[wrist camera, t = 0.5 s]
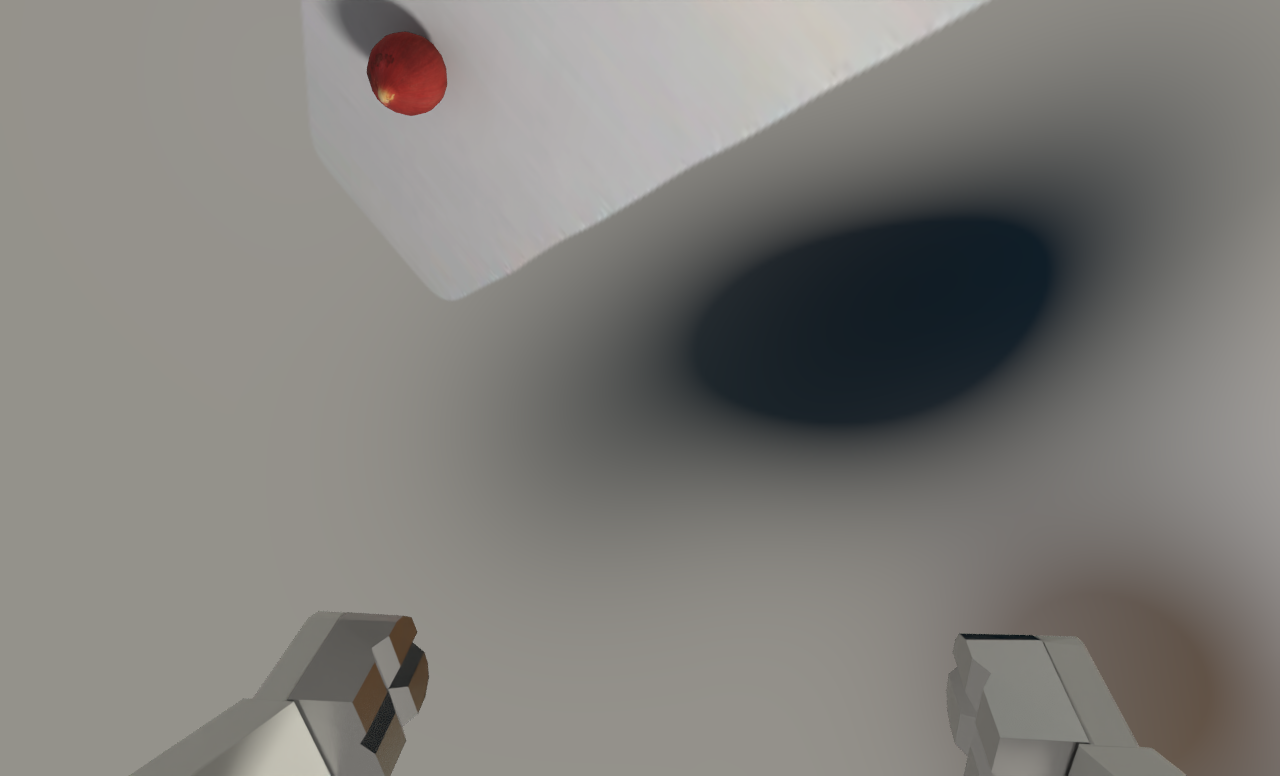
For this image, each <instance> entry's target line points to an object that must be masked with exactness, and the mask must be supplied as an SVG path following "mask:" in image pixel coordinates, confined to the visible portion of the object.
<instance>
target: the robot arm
mask: <svg viewBox="0 0 1280 776" xmlns="http://www.w3.org/2000/svg"><path fill="white" fill-rule="evenodd" d="M416 634H417V630H416V627H415V625H414V622H413V620H412V618H411V617H408V616H398V615H382V614H366V613H349V612H347V613H345V612H325V611H318V612H316V613H315V614H313V615H312V616H311V617H309V618H308V619H307V621H306V622H305V624H304V625H303V626H302V628H301V629H300V631H299V632H298V634H297V635H296V636H295V638H294V639H293V641H292V642H291V644H290V645H289V647H288V648H287V650H286V651H285V652H284V654H283V656H282V657H281V658H280V660H279V661H278V662H277V664H276V665H275V667H274V668H273V670H272V671H271V673H270V674H269V676H268V677H267V678H266V680H265V681H264V683H263V684H262V686H261V687H260V688H259V690H258V691H257V693H256V694H255V696H254V697H253V699H242V700H241V701H239V702H238V703H236V704H235V705H233V706H232V707H230V708H229V709H227V710H226V711H224V712H223V713H221V714H220V715H219V716H217V717H216V718H214V719H213V720H211V721H209V722H208V723H206V724H205V725H203V726H202V727H200V728H199V729H197V730H196V731H195V732H193V733H192V734H190V735H189V736H187V737H186V738H184V739H183V740H181V741H180V742H178V743H177V744H175V745H174V746H172V747H171V748H170V749H168V750H166V751H165V752H163V753H162V754H161V755H159V756H157V757H156V758H155V759H153V760H151V761H150V762H149V763H147V764H146V765H144V766H143V767H141V768H140V769H138V770H137V771H135V772H134V773H132V774H131V775H129V776H390V775H391V773H392V771H393V769H394V766H395V764H396V762H397V760H398V758H399V755H400V753H401V751H402V749H403V747H404V744H405V742H406V738H405V734H404V730H403V726H404V725H405V724H406V723H408V722H409V721H410V720H411V719H412V718H414V717H415V716H416V715H417V714H418V713H419V710H420V708H421V706H422V703H423V701H424V698H425V695H426V690H427V685H428V679H429V672H428V662H427V659H426V656H425V653H424V651H423V650H421V649H420V648H419V647H418V646H416V645H415V644H414V643H413V640H414V638H415V636H416ZM953 654H954V658H955V661H956V664H957V668H955V669H954V670H953V671H952V672H950V673H949V675H948V683H947V690H946V693H947V711H948V717H949V722H950V728H951V731H952V735H953V738H954V742H955V744H956V745H957V746H958V747H959V748H960V749H961V750H962V751H963V752H964V753H965V754H966V755H967V756H968V758H967V763H966V767H965V772H964V776H1187V775H1186V774H1184V773H1183V772H1182V771H1181V770H1179V769H1178V768H1177V767H1175V766H1174V765H1173V764H1172V763H1170V762H1169V761H1168V760H1167V759H1165V758H1164V757H1163V756H1162V755H1160V754H1159V753H1158V752H1156V751H1155V750H1154V749H1153V748H1144V747H1139V746H1138V744H1137V742H1136V740H1135V738H1134V736H1133V734H1132V733H1131V731H1130V729H1129V727H1128V725H1127V723H1126V721H1125V720H1124V718H1123V716H1122V714H1121V712H1120V710H1119V708H1118V706H1117V705H1116V703H1115V701H1114V699H1113V697H1112V695H1111V693H1110V692H1109V690H1108V688H1107V686H1106V684H1105V682H1104V681H1103V678H1102V677H1101V675H1100V673H1099V671H1098V669H1097V667H1096V665H1095V664H1094V662H1093V660H1092V658H1091V656H1090V654H1089V652H1088V651H1087V649H1086V647H1085V645H1084V643H1083V642H1082V641H1081V640H1079V639H1078V638H1077V637H1068V636H1066V637H1065V636H1033V635H1009V634H1008V635H1005V634H962V633H959V634H958V636H957V638H956V639H955V643H954V648H953Z"/></svg>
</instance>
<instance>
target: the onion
mask: <svg viewBox="0 0 1280 776" xmlns="http://www.w3.org/2000/svg"><path fill="white" fill-rule="evenodd" d="M367 75H368V79H369V81H370V84H371V87H372V91H373V92H374V94H375V96H376V97H377V99H378V100H379V101H380V102H381V103H382V104H383V105H384V106H386V107H387V108H389V109H391V110H393V111H394V112H397V113H401V114H405V115H410V116H413V115H418V114H422V113H426V112H428V111H430V110H432V109H433V108H434V107H435V106H436V105H437V104H438V103H439V102H440V101H441V100H442V98H443V97H444V94H445V90H446V87H447V74H446V67H445V64H444V61H443V58H442V56H441V54H440V53H439V52H438V50H437V49H436V47H435V46H434V45H433V44H432V43H431V42H429V41H428V40H427V39H425V38H424V37H422V36H419V35H416V34H413V33H409V32H398V33H392V34H389V35H387V36H385V37H384V38H383V39H382V40H380V41H379V42H378V43H377V44H376V45H375V46H374V48H373V49H372V51H371V54H370V57H369V61H368V66H367Z"/></svg>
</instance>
